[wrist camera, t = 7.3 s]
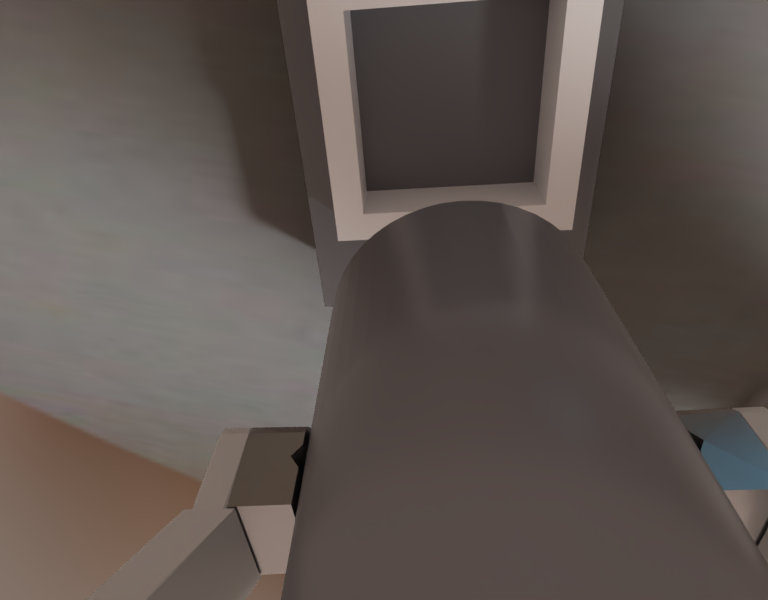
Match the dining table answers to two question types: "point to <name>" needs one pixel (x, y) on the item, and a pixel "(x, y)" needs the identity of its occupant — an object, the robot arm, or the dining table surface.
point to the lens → (500, 434)
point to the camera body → (446, 110)
